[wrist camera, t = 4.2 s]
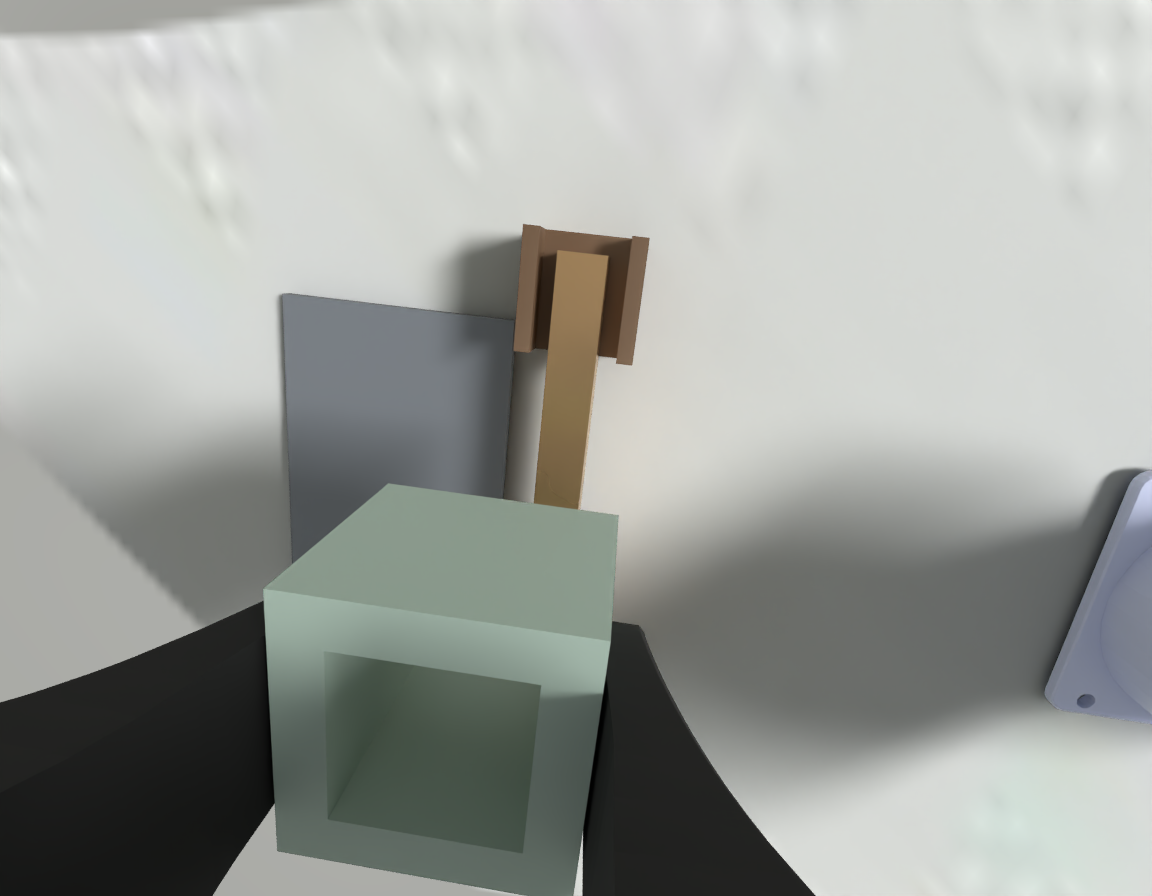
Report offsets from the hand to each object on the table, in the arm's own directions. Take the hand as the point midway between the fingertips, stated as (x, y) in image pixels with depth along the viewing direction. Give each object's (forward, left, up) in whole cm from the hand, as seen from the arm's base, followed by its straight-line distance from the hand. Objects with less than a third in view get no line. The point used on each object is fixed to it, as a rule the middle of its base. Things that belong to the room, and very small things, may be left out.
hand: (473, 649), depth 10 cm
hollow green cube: (0, 0, -2) cm, 2 cm away
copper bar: (-1, 0, -7) cm, 7 cm away
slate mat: (+5, 0, -9) cm, 10 cm away
